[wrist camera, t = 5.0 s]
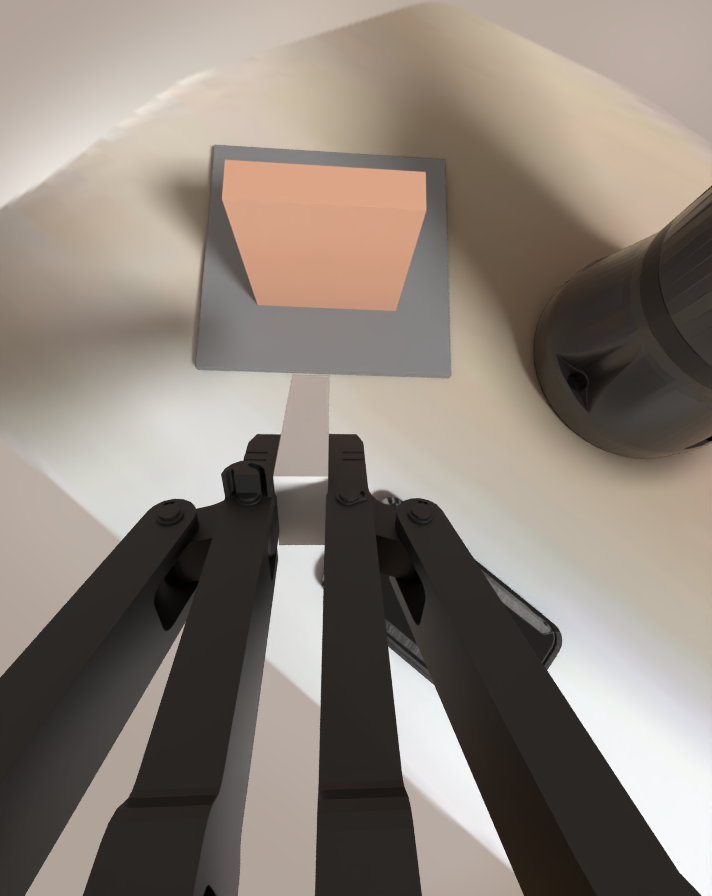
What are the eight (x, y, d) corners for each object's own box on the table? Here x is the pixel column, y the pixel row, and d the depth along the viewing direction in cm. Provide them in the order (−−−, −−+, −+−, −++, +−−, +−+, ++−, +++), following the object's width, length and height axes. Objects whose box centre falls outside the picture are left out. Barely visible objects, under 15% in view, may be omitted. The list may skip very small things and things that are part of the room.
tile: (395, 281, 31) (425, 168, 21) (395, 311, 30) (426, 210, 21) (259, 274, 30) (225, 156, 21) (257, 305, 30) (221, 198, 20)
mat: (443, 165, 34) (445, 159, 33) (448, 378, 30) (451, 375, 30) (216, 151, 33) (214, 144, 32) (198, 369, 29) (195, 366, 29)
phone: (388, 489, 28) (569, 636, 27) (386, 491, 29) (559, 631, 28) (313, 585, 27) (500, 743, 26) (314, 583, 28) (493, 734, 27)
